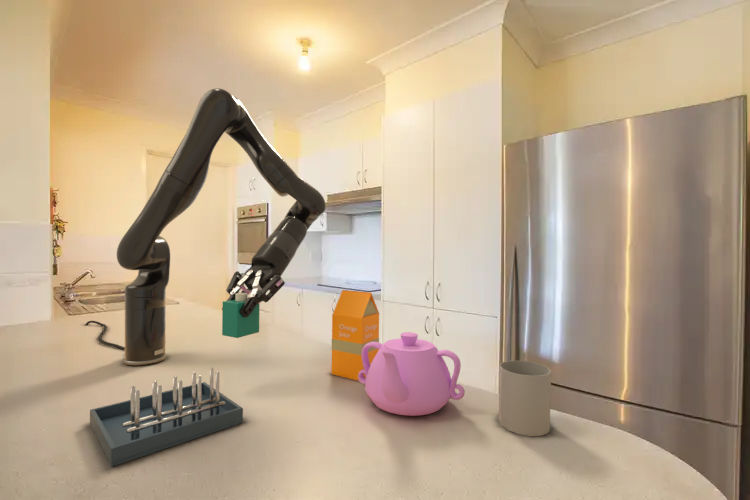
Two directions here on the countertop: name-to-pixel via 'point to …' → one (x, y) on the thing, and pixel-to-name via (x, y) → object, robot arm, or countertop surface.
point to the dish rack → (157, 406)
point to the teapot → (409, 376)
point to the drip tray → (119, 441)
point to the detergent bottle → (239, 318)
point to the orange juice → (353, 332)
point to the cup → (524, 397)
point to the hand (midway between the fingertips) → (234, 313)
